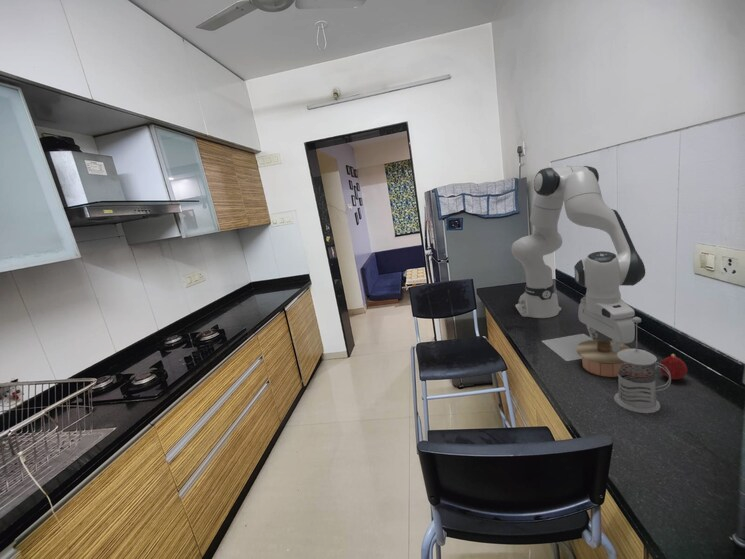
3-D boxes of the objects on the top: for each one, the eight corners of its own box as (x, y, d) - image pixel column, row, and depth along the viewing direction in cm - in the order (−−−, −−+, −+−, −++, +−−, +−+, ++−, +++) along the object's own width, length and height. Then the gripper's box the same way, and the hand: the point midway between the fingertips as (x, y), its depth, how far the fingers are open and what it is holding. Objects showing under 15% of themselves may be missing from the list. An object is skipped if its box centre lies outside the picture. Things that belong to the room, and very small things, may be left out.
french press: (614, 387, 93) (613, 309, 87) (668, 397, 86) (671, 311, 80) (612, 407, 86) (611, 322, 80) (671, 419, 78) (674, 327, 73)
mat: (541, 341, 126) (541, 340, 126) (583, 334, 126) (583, 333, 126) (566, 362, 110) (566, 361, 110) (615, 353, 109) (615, 352, 109)
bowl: (574, 361, 109) (573, 347, 108) (609, 355, 109) (609, 341, 107) (598, 380, 98) (598, 364, 96) (638, 373, 97) (638, 357, 96)
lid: (566, 346, 110) (566, 336, 109) (610, 338, 109) (610, 328, 108) (596, 367, 95) (596, 356, 94) (647, 359, 94) (647, 347, 93)
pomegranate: (692, 384, 88) (693, 358, 87) (668, 385, 90) (668, 360, 88) (677, 373, 94) (678, 349, 92) (654, 374, 95) (655, 350, 94)
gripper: (572, 296, 108) (573, 333, 112) (617, 316, 88) (617, 360, 92) (590, 293, 108) (591, 330, 111) (639, 312, 88) (639, 357, 91)
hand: (603, 344), depth 101 cm, fingers open, 8 cm apart
